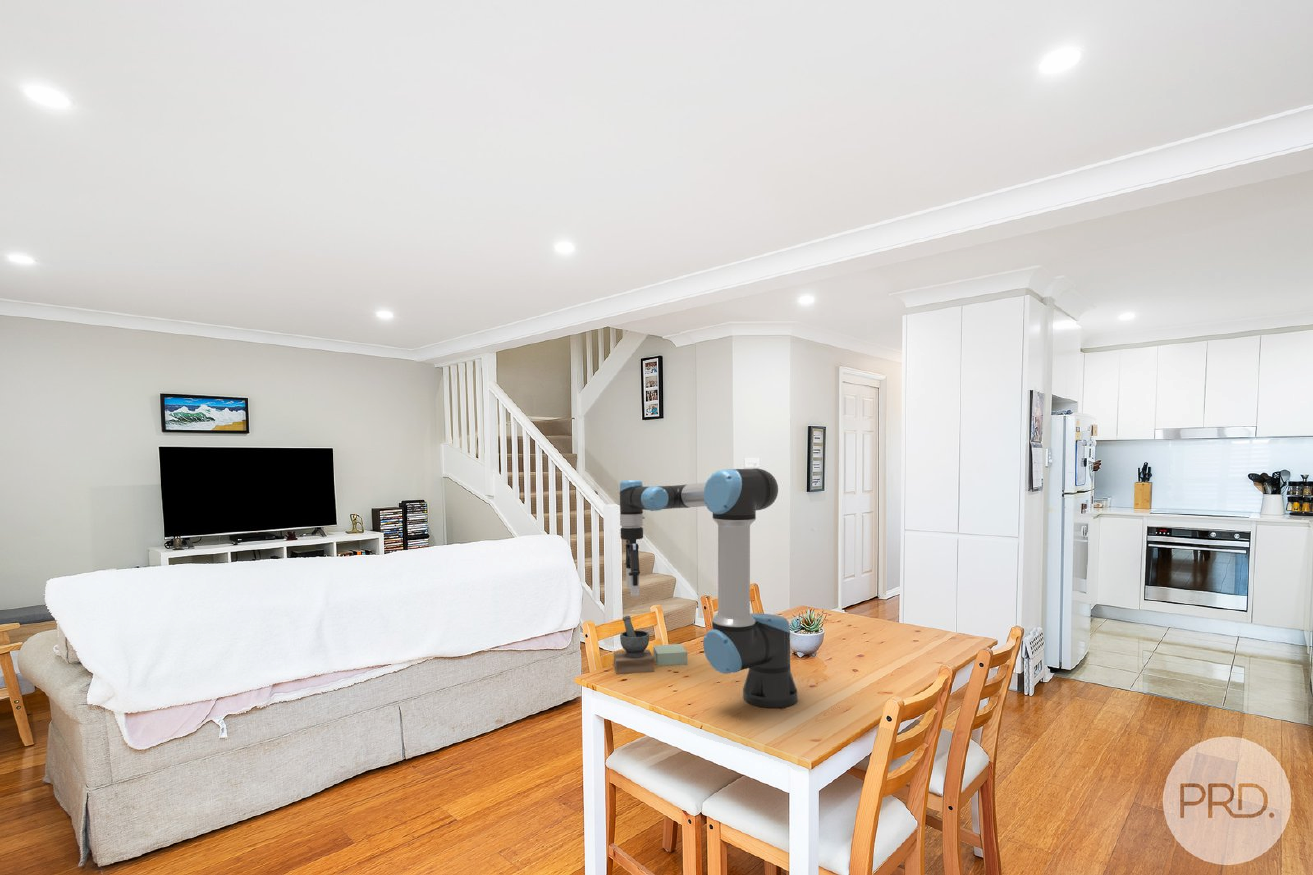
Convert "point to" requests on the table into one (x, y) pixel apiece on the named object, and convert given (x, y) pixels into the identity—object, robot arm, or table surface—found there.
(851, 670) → the table surface
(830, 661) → the table surface
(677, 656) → the green plinth
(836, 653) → the table surface
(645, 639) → the mortar and pestle
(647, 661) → the walnut plinth
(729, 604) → the robot arm
